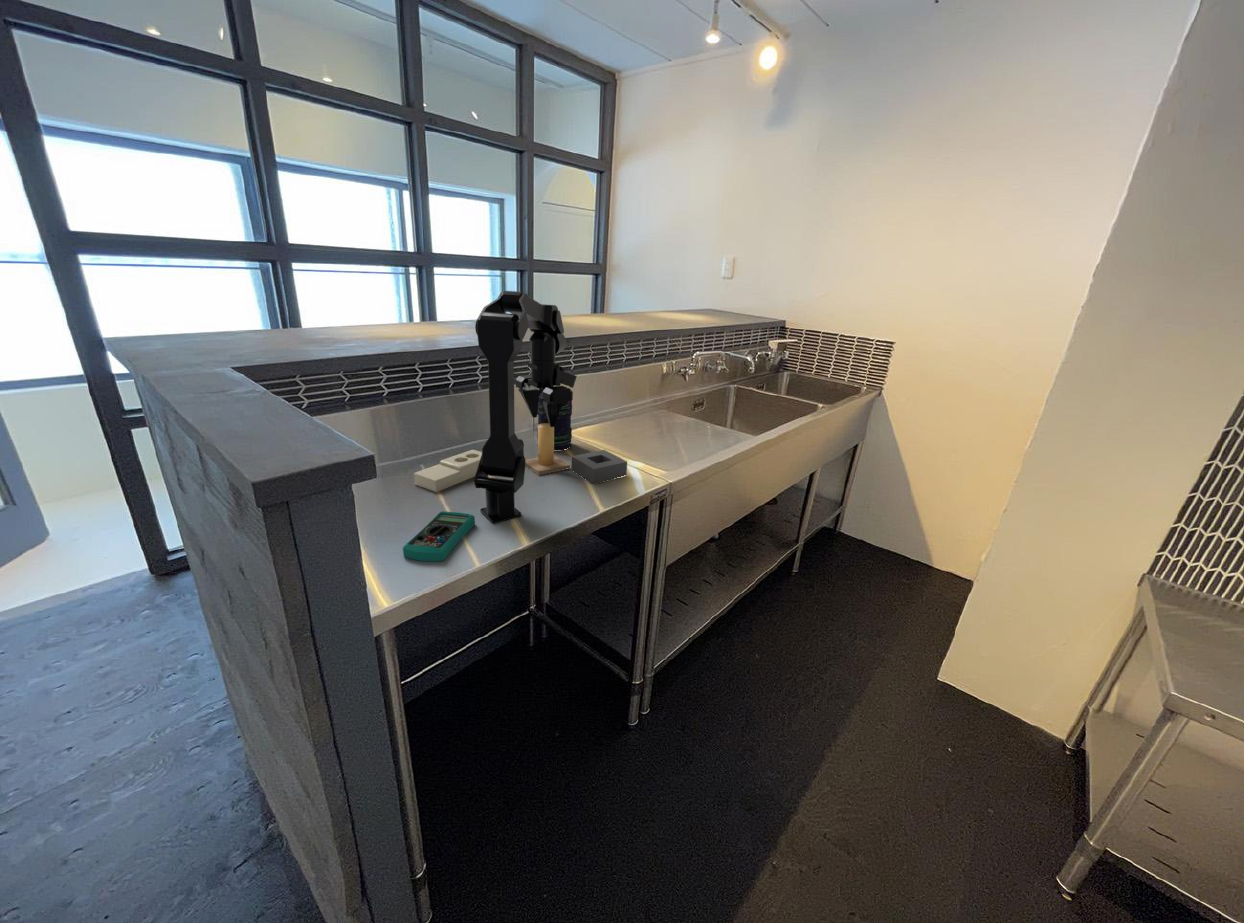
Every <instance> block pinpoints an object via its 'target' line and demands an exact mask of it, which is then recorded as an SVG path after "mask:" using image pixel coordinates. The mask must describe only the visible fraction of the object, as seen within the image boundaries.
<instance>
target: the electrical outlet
mask: <svg viewBox="0 0 1244 923" xmlns="http://www.w3.org/2000/svg"><path fill="white" fill-rule="evenodd" d="M481 456H482V451H479V450H476V449H471V450H467V451H464V452H462V453H459V454H456V455H453V456H450V457H447V458H444V459H441V460H440V461H439V464H436V465H433V466H430V467H427V468H424V469H421V470H418V471H416V472H413V480H414V485H415V486H418V487H422V488H423V489H426V490H430V491H431V492H435V493H437V492H440V491H442V490H445V489H448V488H450V487H452V486H456V485H457V484H459V483H462V482H465V481H467V480H470V479H472V478H475V475H476V472H477V468H478V465H479V462H480V459H481Z"/></svg>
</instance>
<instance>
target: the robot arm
mask: <svg viewBox="0 0 1244 923" xmlns="http://www.w3.org/2000/svg"><path fill="white" fill-rule="evenodd" d="M474 325H475V326H474V327H475V333H476V336H477V343H478V347H479V349H480V351H481V354H482V355H483V356H484V358H485V359H486V360H487V371H488V407H489V408H488V409H489V437H488V439H487V440H486V441H485V443H484V445H483V447H481V448H482V450H481V452H482V456H481V459H480V462H479V465H478V468H477V472H476V475H475V477H473V478H474V479H473V484H474V487H475V489H484V490H485V504H486V505H485V506H486V507H483V508H482V507H481V508H480V509H479V510H480V513H482V514H483V516H485V518H486V519H488V520H489V522H490V523H492V524H494V523H499V522H503V521H506V520H510V519H513V518H514V519H515V518H518V517H521V516H522V511H520V510H518V508H516V504H515V503H516V499H515V497H516V495H515V494H516V493H517V492H518V491H519V490H520V489H521V488H522V487H523V486H524V482H525V473H526V472H525V471H526V466H525V464H526V461H525V460H526V457H525V453H524V450H525V449H524V448H525V442H524V441H523V439H521V438H518V437H517V435H516V431H515V429H516V427H515V387H516V388H517V390H518V392H519V393H520V395H521V397H522V398H523V401H524V403H525V404H526V407H527V408H528V411H529V412H530V415H531V416H532V418H534V419H535V418H538V414H537V413H538V403H539V396H540V394H541V393H542V392H543V398H544V400H543V405H544V408H545V411H546V415H547V418H548V422H549V425H550V427H554V426H555V424H556V421H557V418H558V415H559V413H560V410H561V408H562V406H563V405H564V404H566V403H569V401H572V402H573V401H574V392H573V391H572V389H573V388H574V386H575V382H576V380H577V377H578V376H577V375H575V374H573V373H569V372H566V371H565V367H563V366H560V365H559V363H556V355H557V354H560V353H561V352H563V351H564V350H565V348H566V346H567V339H566V337H565V335H564V333H565V329H564V323H563V318H562V314H561V311H560V310H559V308H558V306H557V305H556V304H554V305H553V304H546V303H545V304H542V303H540V302H538V301H536V300H535V299H533V298H532V297H530V296H529V295H528V294H527V293H525V292H524V291H515V290H513V291H512V290H504V291H501V292H500V293H499V295H498V297H497V298H496V299H494V300H492V301H491V302H489V303H488V304H486V305H485V306H484V307H483V308H482V310H480V313H479V315H478V317H477V318H476V321H475V324H474ZM528 329H529V331H530V332H533V333H532V334H531V335H530V337H529V342H530V361H528V362H527V368H530V374H525V375H518V377H516V379H515V361H516V359H517V357H518V355H519V353H520V352H521V350H523V349H522V348H523V340H524V338H525V336H526V333H527V331H528ZM566 386H568V387H566ZM489 476H491V477H489ZM497 477H499V478H497ZM505 478H506V479H505ZM508 478H509V479H508Z"/></svg>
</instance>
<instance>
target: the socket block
mask: <svg viewBox="0 0 1244 923" xmlns="http://www.w3.org/2000/svg"><path fill="white" fill-rule="evenodd" d="M570 469H571V470H572V471H574V472H575V473H577V474H578V475H577V474H576V475H577V476H579V475H580V476H582V477H583V478H584V480H585V479H586V480H585V481H587V482H588V481H589V482H588V483H590V484H592V485H593V484H594V485H597V484H598V485H599V484H601V483H600V482H602V483H604V482H603V481H606V482H608V481H607V480H610V481H612V480H611V479H614V478H617V477H621V476H624V475H627V471H628V461H627V460H625V459H623V458H621V457H620V456H617V455H615V454H613V453H611V452H609V451H607V450H605V449H602V450H598V451H597V450H596V451H590V452H586V453H581V454H576V455H572V456H571V465H570ZM572 471H571V472H572ZM574 472H573V473H574ZM575 473H574V474H575ZM580 476H579V477H580ZM582 477H581V478H582ZM583 478H582V479H583Z"/></svg>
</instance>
